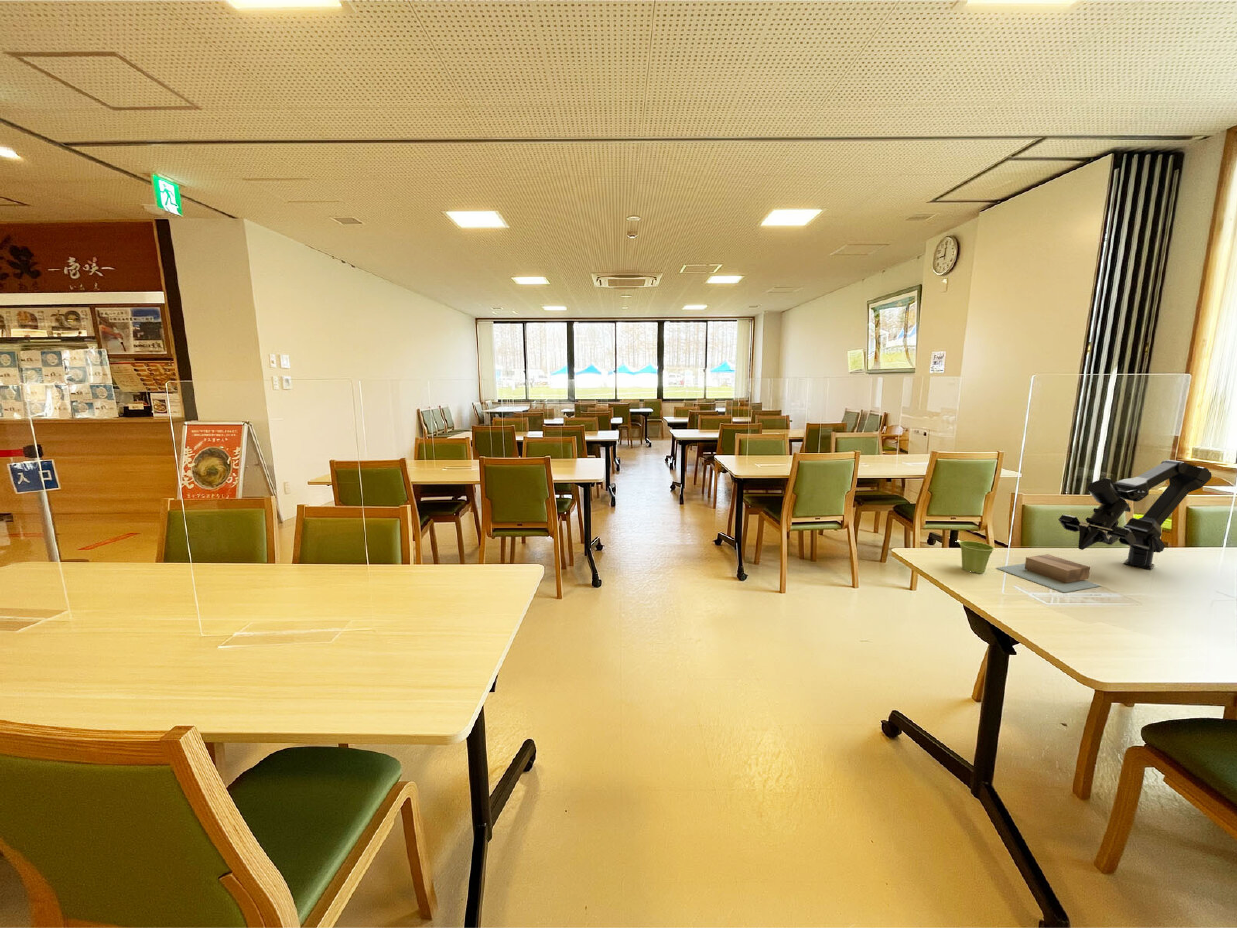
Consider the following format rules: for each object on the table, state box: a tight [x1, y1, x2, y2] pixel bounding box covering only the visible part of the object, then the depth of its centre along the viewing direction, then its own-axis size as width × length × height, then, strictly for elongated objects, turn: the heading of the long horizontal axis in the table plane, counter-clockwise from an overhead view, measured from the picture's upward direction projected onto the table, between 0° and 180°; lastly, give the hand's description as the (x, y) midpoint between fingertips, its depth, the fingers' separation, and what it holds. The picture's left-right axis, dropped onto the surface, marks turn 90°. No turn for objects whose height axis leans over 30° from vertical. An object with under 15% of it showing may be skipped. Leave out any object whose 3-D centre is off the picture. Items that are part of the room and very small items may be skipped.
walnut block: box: [1025, 553, 1091, 583], centre depth 158 cm, size 4×12×10 cm
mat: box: [996, 563, 1102, 594], centre depth 158 cm, size 16×20×1 cm
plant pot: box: [958, 540, 995, 574], centre depth 163 cm, size 9×9×9 cm
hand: (1080, 548), depth 160 cm, fingers closed
